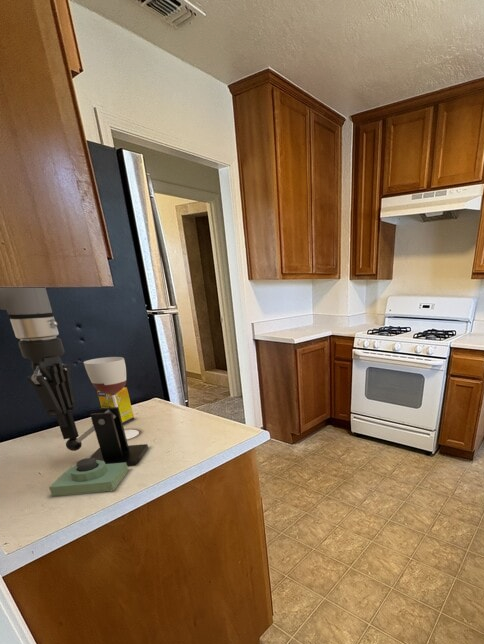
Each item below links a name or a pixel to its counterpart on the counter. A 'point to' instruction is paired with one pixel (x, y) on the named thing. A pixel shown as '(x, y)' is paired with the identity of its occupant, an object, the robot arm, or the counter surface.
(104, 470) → the button box
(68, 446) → the lever
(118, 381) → the wineglass
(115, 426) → the bracket
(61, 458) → the counter surface
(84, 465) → the button
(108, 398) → the supplement box
